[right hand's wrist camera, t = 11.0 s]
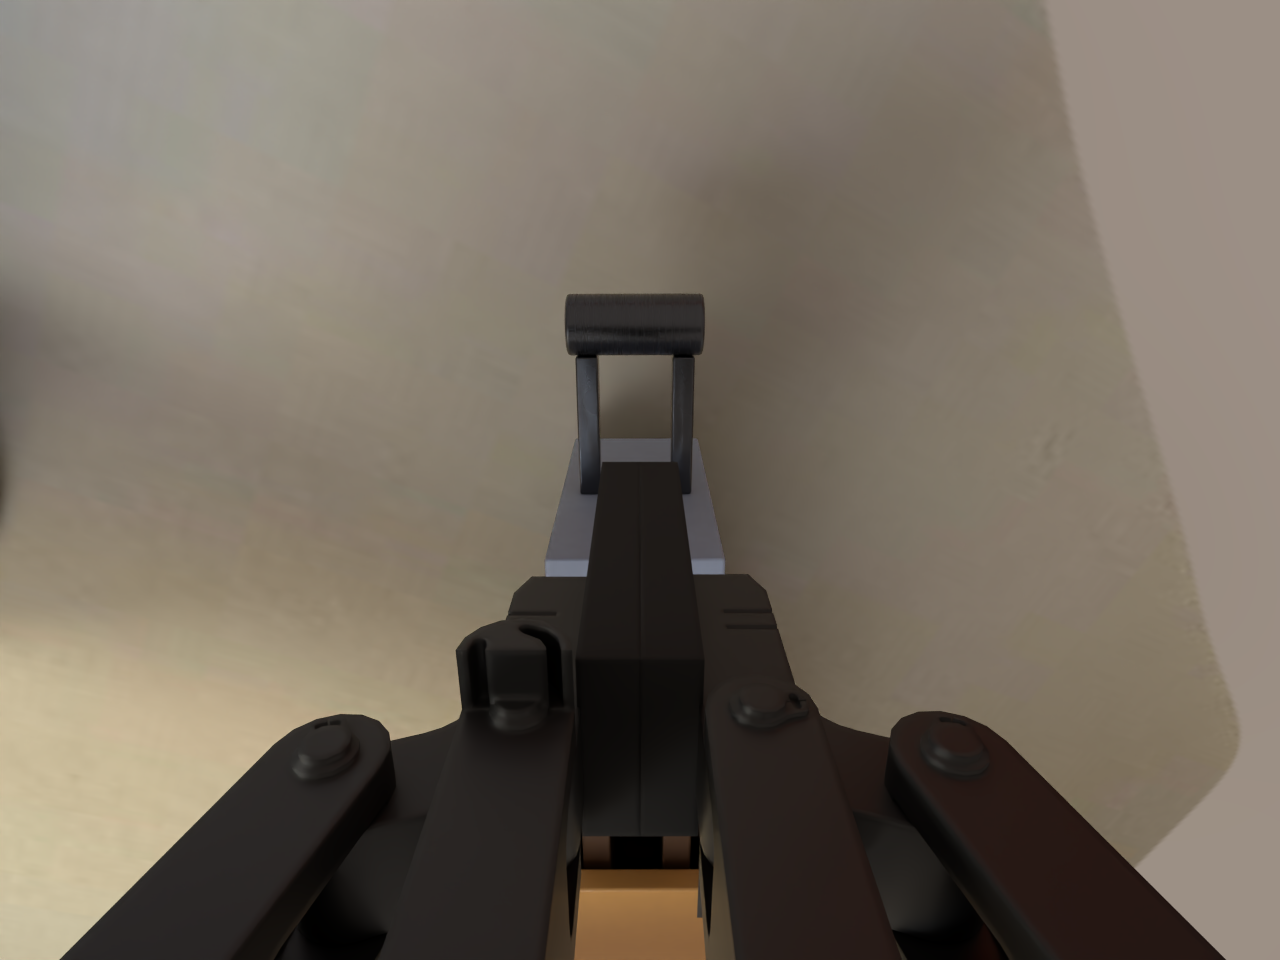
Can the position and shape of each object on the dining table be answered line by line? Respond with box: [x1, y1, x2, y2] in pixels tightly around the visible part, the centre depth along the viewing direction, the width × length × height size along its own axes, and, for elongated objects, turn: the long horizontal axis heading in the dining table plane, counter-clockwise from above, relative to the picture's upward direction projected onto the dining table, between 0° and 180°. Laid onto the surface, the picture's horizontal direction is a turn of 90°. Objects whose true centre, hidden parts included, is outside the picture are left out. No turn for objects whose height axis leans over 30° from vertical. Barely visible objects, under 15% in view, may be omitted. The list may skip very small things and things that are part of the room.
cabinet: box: [574, 823, 706, 960], centre depth 29 cm, size 19×6×11 cm, turn 0°
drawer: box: [545, 294, 725, 869], centre depth 24 cm, size 24×4×9 cm, turn 0°
